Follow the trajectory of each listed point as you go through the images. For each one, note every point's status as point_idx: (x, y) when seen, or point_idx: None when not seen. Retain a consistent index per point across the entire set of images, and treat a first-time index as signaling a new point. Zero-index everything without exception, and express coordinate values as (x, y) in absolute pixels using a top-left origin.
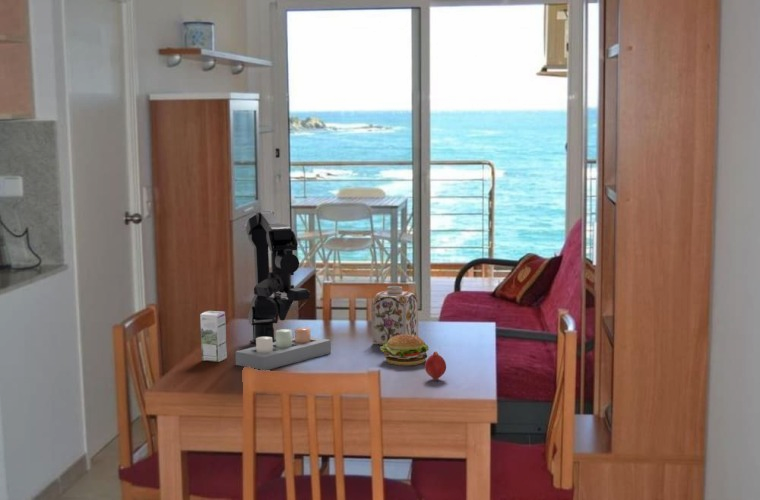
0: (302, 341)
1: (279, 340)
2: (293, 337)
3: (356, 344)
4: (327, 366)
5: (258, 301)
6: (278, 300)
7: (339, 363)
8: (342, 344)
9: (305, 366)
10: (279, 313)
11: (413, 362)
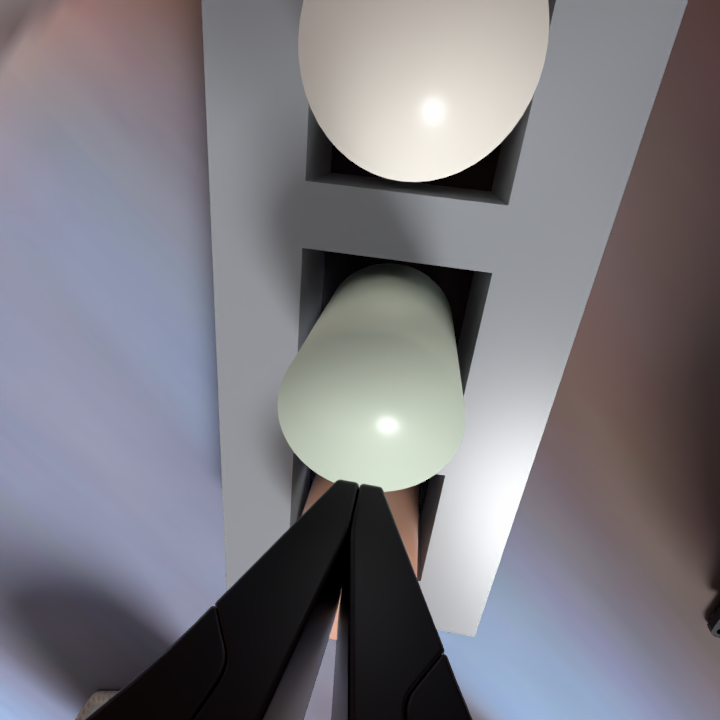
0: (324, 487)
1: (369, 298)
2: (493, 575)
3: None
4: (23, 276)
5: None
6: None
7: (39, 368)
8: (331, 661)
9: (118, 201)
10: (354, 563)
11: None
